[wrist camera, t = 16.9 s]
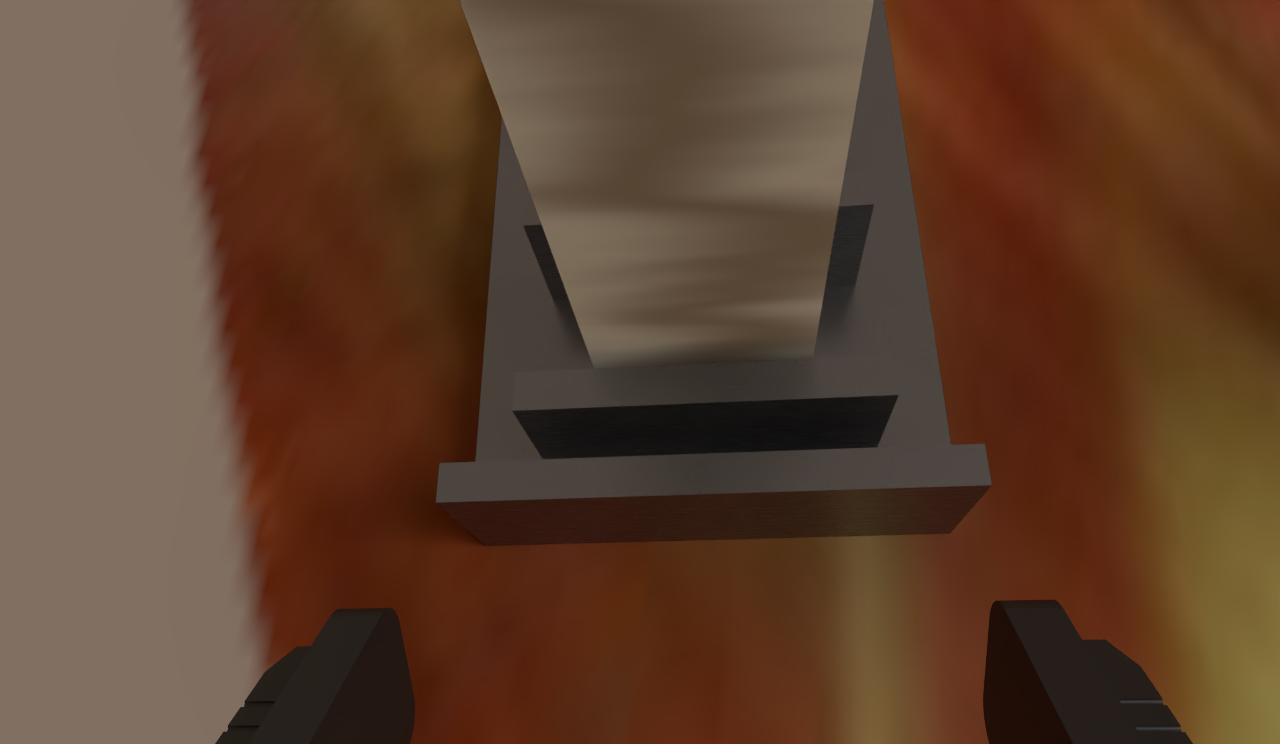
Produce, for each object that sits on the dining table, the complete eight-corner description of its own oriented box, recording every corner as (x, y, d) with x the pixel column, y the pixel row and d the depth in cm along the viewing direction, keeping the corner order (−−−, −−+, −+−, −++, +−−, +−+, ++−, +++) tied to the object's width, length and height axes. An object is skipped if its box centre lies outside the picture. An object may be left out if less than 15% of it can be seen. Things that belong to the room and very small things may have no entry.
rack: (843, -206, 37) (858, -357, 32) (950, 533, 25) (1003, 471, 20) (534, -174, 38) (503, -315, 33) (484, 545, 26) (422, 490, 21)
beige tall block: (797, 306, 26) (923, -761, 8) (805, 401, 25) (976, -599, 7) (610, 315, 27) (329, -666, 8) (609, 409, 25) (276, -502, 7)
